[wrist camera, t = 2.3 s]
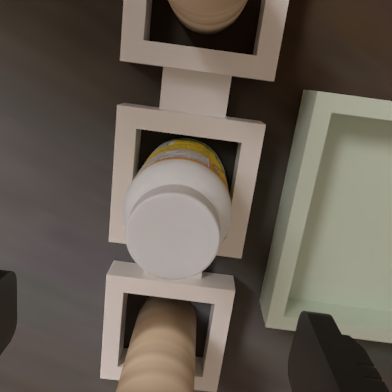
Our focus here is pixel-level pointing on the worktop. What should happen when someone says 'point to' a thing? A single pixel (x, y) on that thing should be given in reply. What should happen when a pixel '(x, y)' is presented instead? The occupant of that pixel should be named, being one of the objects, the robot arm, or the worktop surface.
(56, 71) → the worktop surface
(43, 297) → the worktop surface
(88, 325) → the worktop surface
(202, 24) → the beech peg inner
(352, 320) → the sage tray
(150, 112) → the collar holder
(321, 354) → the robot arm
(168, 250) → the supplement bottle
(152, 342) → the beech peg outer
